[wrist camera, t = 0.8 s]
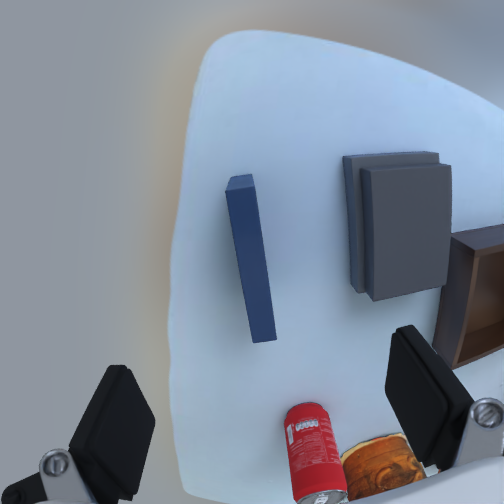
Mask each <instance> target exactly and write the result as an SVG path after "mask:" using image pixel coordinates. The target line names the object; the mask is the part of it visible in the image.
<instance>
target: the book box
mask: <svg viewBox="0 0 504 504" xmlns="http://www.w3.org/2000/svg"><path fill="white" fill-rule="evenodd" d="M432 347H433V349H434V350H435V351H436V352H437V354H439V355H440V356H441V357H442V359H443V360H444V361H445V362H446V364H447V365H448V366H449V368H450V369H451V370H454V369H456V368H459V367H461V366H464V365H466V364H469V363H471V362H473V361H476V360H478V359H480V358H483V357H485V356H487V355H489V354H492V353H494V352H496V351H498V350H500V349H502V348H504V224H502V225H496V226H490V227H485V228H479V229H473V230H468V231H462V232H456V233H451V239H450V252H449V263H448V273H447V281H446V285H443V286H442V292H441V299H440V306H439V312H438V318H437V324H436V329H435V334H434V339H433V344H432Z"/></svg>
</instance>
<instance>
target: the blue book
mask: <svg viewBox="0 0 504 504" xmlns="http://www.w3.org/2000/svg"><path fill="white" fill-rule="evenodd" d="M225 193H226V198H227V204H228V210H229V216H230V221H231V227H232V233H233V238H234V244H235V250H236V255H237V261H238V266H239V272H240V277H241V283H242V288H243V293H244V299H245V304H246V310H247V315H248V320H249V326H250V331H251V336H252V341H253V343H259V342H266V341H273V340H277V336H276V329H275V322H274V315H273V308H272V301H271V293H270V286H269V279H268V272H267V266H266V259H265V252H264V245H263V238H262V231H261V225H260V218H259V211H258V205H257V198H256V191H255V186H254V181H253V177H252V174H247V175H241V176H234V177H231V178H230V181H229V183H228V186H227V188H226V191H225Z"/></svg>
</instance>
